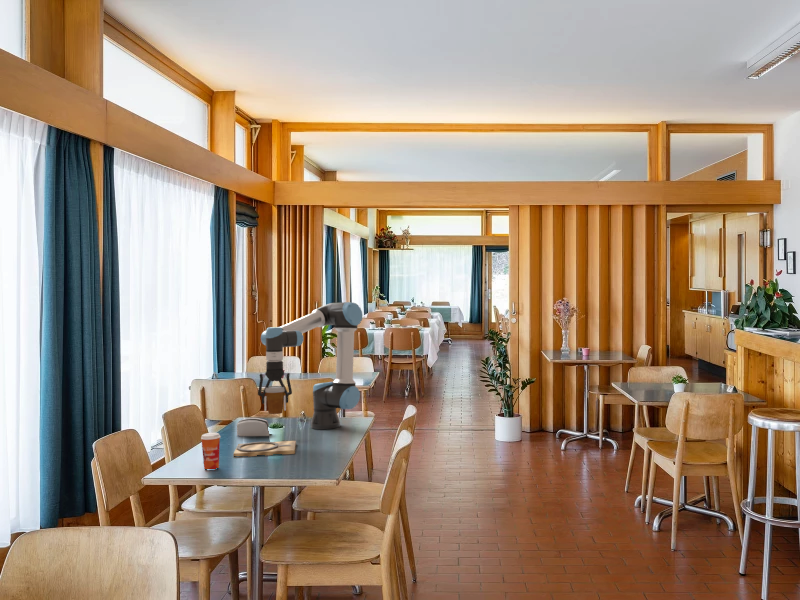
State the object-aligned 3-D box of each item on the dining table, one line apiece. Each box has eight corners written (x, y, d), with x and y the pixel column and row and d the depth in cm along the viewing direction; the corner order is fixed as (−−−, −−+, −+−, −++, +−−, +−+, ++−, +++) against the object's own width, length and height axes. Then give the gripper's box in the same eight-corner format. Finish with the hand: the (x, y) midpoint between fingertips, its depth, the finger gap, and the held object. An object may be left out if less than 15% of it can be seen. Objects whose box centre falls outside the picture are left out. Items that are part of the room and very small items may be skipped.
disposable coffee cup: (263, 412, 322) (262, 386, 322) (283, 411, 325) (283, 385, 325) (266, 415, 313) (266, 388, 313) (287, 413, 316) (287, 387, 316)
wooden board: (295, 444, 322) (295, 439, 322) (294, 453, 302) (294, 448, 302) (238, 447, 318) (238, 442, 318) (233, 457, 298) (233, 452, 298)
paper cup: (198, 471, 275) (197, 436, 275) (205, 466, 283) (204, 432, 283) (218, 471, 275) (217, 436, 275) (224, 466, 282) (223, 432, 282)
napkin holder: (272, 433, 348) (269, 416, 344) (269, 438, 343) (266, 421, 340) (240, 434, 350) (237, 416, 346) (237, 439, 345) (234, 421, 342)
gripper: (250, 362, 314) (251, 412, 314) (297, 360, 317) (298, 410, 317) (252, 360, 322) (252, 410, 321) (297, 359, 324) (298, 408, 324)
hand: (275, 410), depth 319 cm, fingers closed on disposable coffee cup, 8 cm apart
